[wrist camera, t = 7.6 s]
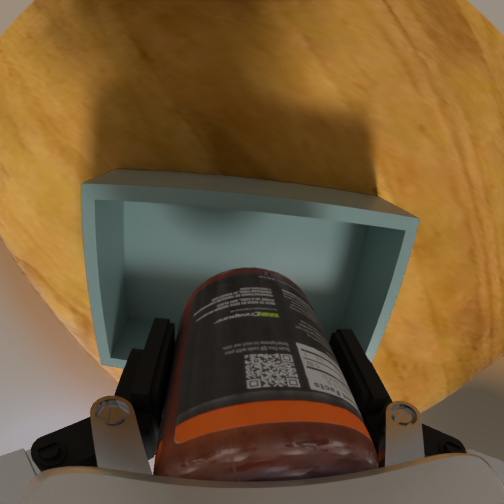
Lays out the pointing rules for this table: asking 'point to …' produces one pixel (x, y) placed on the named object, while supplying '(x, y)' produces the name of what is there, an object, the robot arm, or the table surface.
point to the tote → (235, 249)
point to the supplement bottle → (257, 389)
